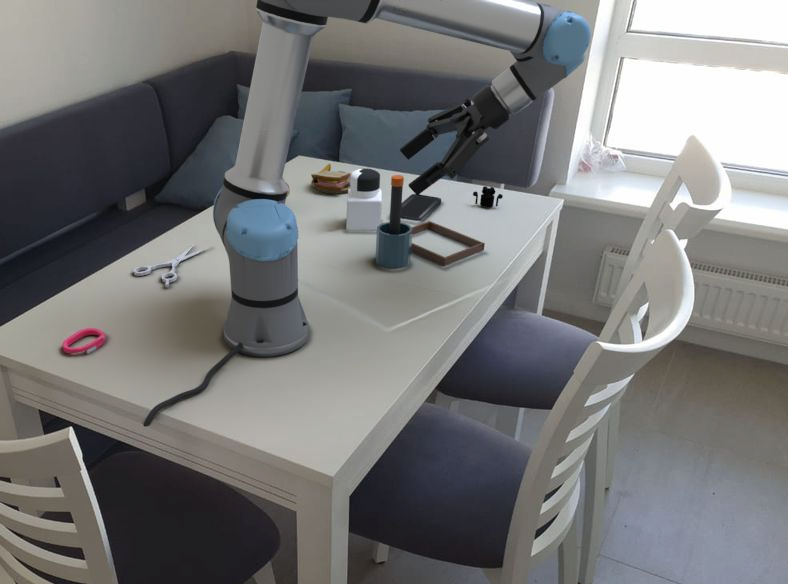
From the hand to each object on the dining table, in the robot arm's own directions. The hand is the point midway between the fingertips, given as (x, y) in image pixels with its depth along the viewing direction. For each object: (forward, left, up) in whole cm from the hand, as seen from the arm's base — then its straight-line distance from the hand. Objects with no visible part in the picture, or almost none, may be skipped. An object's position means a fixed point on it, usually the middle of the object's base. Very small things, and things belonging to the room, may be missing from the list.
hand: (408, 171), depth 156 cm
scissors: (-37, +31, -20) cm, 52 cm away
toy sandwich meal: (+20, +44, -20) cm, 52 cm away
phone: (+24, +19, -20) cm, 36 cm away
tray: (+11, +1, -20) cm, 23 cm away
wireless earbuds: (+39, +10, -20) cm, 45 cm away
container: (+8, +20, -20) cm, 29 cm away
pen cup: (-1, +1, -20) cm, 20 cm away
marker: (-1, +1, -19) cm, 19 cm away
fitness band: (-66, +12, -20) cm, 71 cm away
